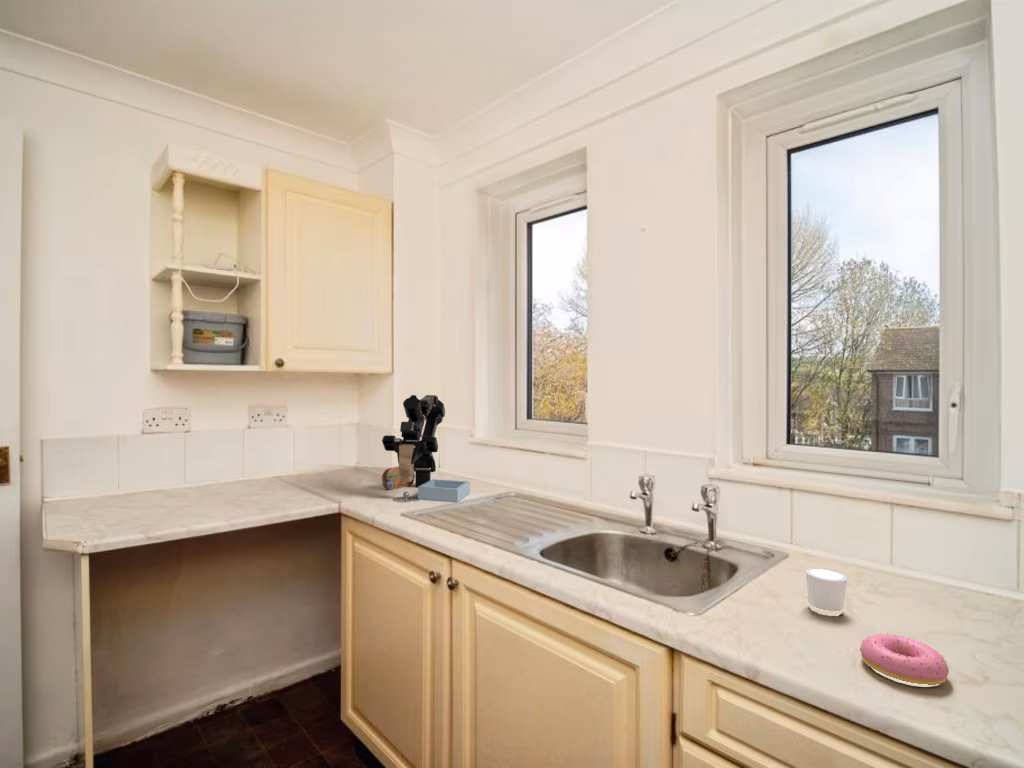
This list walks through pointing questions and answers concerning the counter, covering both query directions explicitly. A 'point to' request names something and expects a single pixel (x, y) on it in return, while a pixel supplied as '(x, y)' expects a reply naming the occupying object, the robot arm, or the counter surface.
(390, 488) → the tin
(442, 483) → the bin
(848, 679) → the counter surface
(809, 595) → the white cylinder
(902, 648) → the doughnut
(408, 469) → the strut
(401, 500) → the base
